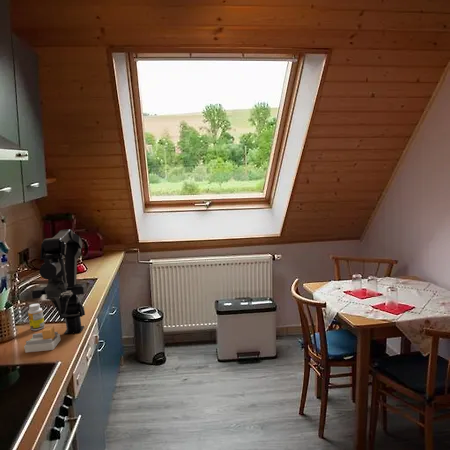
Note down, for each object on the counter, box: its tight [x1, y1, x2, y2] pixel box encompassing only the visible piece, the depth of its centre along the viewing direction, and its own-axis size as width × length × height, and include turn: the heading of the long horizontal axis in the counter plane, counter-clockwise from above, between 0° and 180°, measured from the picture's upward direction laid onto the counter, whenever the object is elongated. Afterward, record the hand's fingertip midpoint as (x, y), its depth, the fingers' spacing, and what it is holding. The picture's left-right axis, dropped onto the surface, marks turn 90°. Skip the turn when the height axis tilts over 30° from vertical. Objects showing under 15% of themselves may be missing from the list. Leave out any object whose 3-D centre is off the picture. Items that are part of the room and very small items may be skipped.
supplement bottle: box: [27, 303, 46, 331], centre depth 183 cm, size 6×6×10 cm
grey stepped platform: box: [24, 331, 62, 353], centre depth 164 cm, size 9×10×4 cm
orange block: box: [41, 325, 56, 340], centre depth 164 cm, size 4×3×4 cm
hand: (62, 313), depth 163 cm, fingers closed
